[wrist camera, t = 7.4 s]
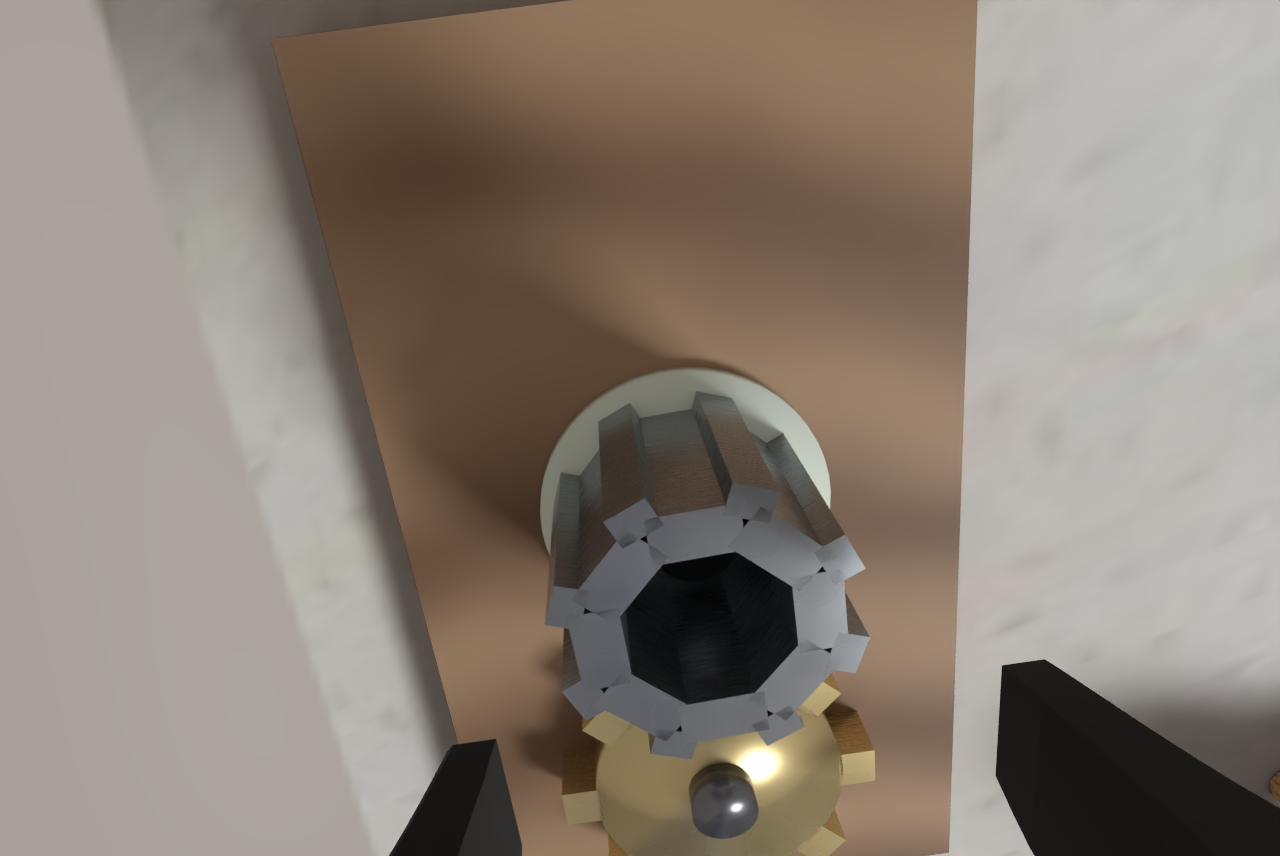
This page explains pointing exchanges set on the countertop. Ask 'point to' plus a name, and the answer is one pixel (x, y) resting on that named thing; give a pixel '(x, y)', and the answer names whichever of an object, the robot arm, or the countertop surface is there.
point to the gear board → (664, 360)
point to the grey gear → (702, 610)
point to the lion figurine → (1275, 786)
